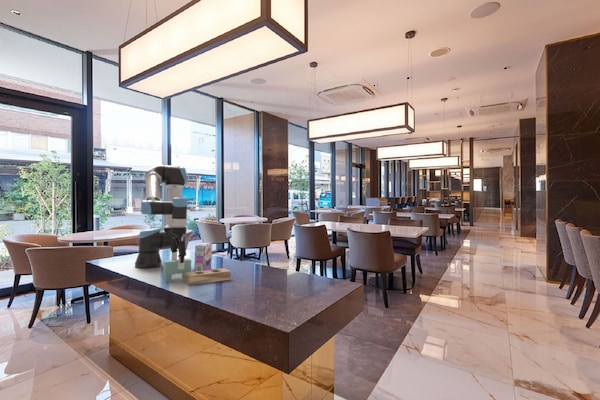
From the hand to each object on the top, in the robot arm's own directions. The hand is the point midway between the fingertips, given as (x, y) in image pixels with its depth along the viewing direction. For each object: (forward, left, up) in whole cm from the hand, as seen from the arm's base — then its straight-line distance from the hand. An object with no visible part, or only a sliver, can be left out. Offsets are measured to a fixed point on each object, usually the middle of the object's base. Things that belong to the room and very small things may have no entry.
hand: (177, 266), depth 158 cm
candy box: (-11, +18, -7) cm, 22 cm away
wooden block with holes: (+10, +13, -7) cm, 18 cm away
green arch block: (0, 0, -7) cm, 7 cm away
